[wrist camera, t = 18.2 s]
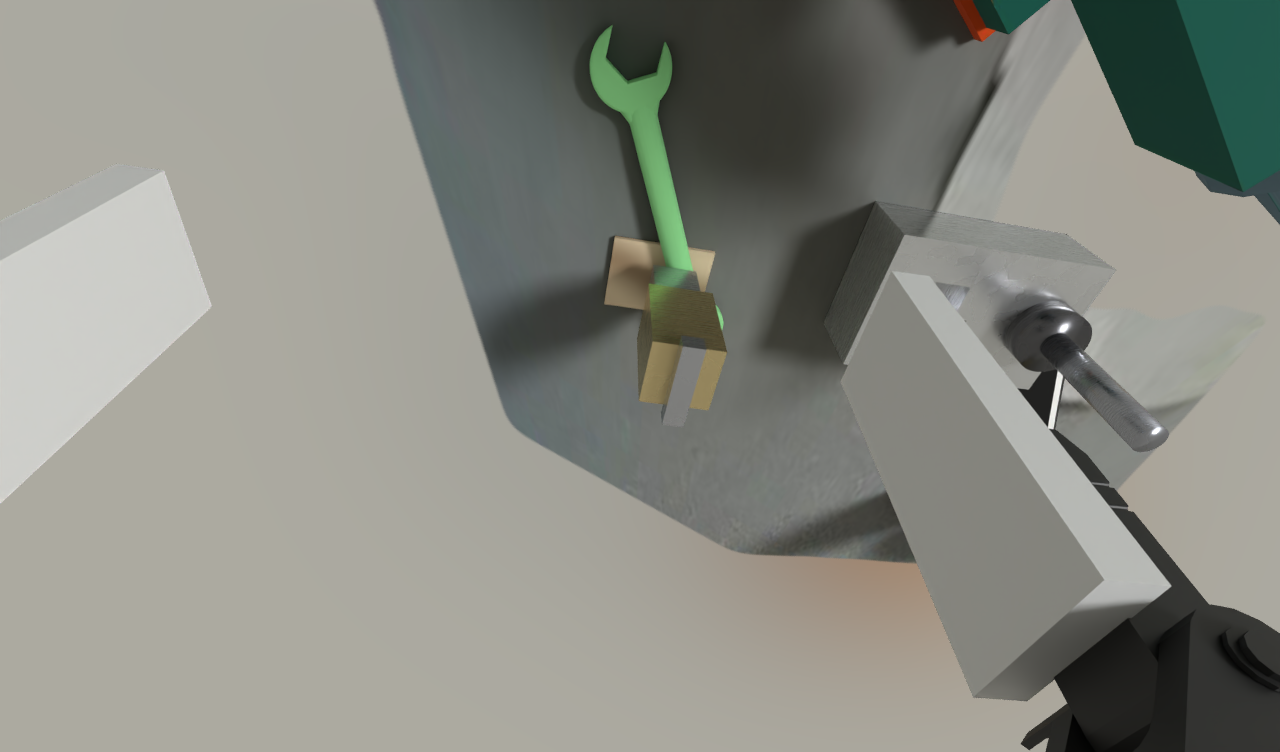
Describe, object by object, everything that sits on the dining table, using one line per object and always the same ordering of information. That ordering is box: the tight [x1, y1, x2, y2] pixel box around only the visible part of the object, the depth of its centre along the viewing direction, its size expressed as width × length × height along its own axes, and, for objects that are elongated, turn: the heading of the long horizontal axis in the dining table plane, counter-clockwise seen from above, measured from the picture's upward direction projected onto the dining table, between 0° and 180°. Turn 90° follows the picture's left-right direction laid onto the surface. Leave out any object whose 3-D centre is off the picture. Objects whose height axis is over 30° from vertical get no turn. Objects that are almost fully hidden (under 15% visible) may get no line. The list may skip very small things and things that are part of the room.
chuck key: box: [637, 265, 727, 427], centre depth 41 cm, size 6×5×13 cm
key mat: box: [604, 236, 715, 310], centre depth 48 cm, size 6×8×1 cm
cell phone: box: [1017, 369, 1065, 429], centre depth 58 cm, size 8×15×1 cm, turn 16°
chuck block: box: [824, 201, 1169, 452], centre depth 42 cm, size 11×16×18 cm
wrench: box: [590, 25, 723, 329], centre depth 44 cm, size 25×2×5 cm
